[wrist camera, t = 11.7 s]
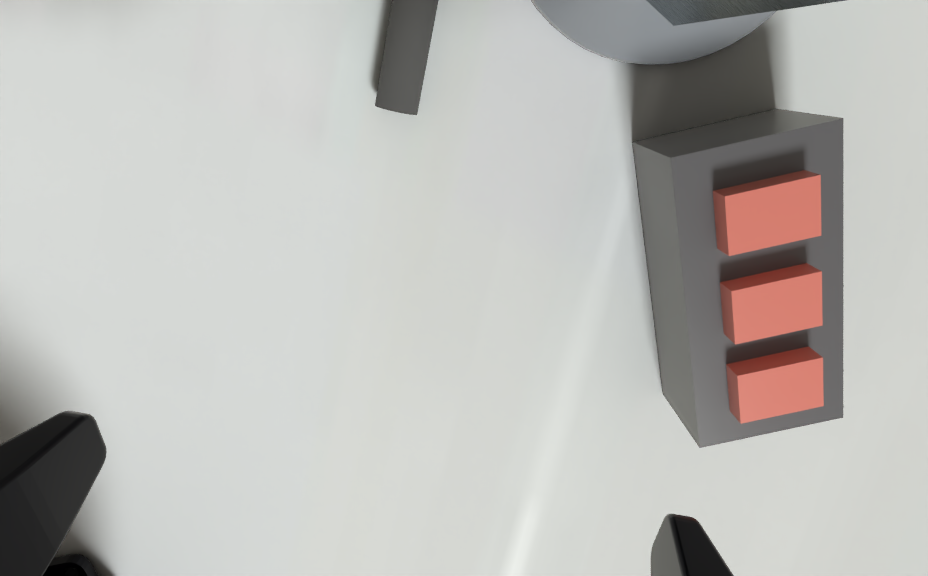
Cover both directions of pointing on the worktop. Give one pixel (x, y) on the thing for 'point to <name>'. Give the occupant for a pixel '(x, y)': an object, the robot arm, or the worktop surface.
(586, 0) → the gray disc
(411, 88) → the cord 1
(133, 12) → the worktop surface
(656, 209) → the gray power strip
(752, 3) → the charcoal tea tin
